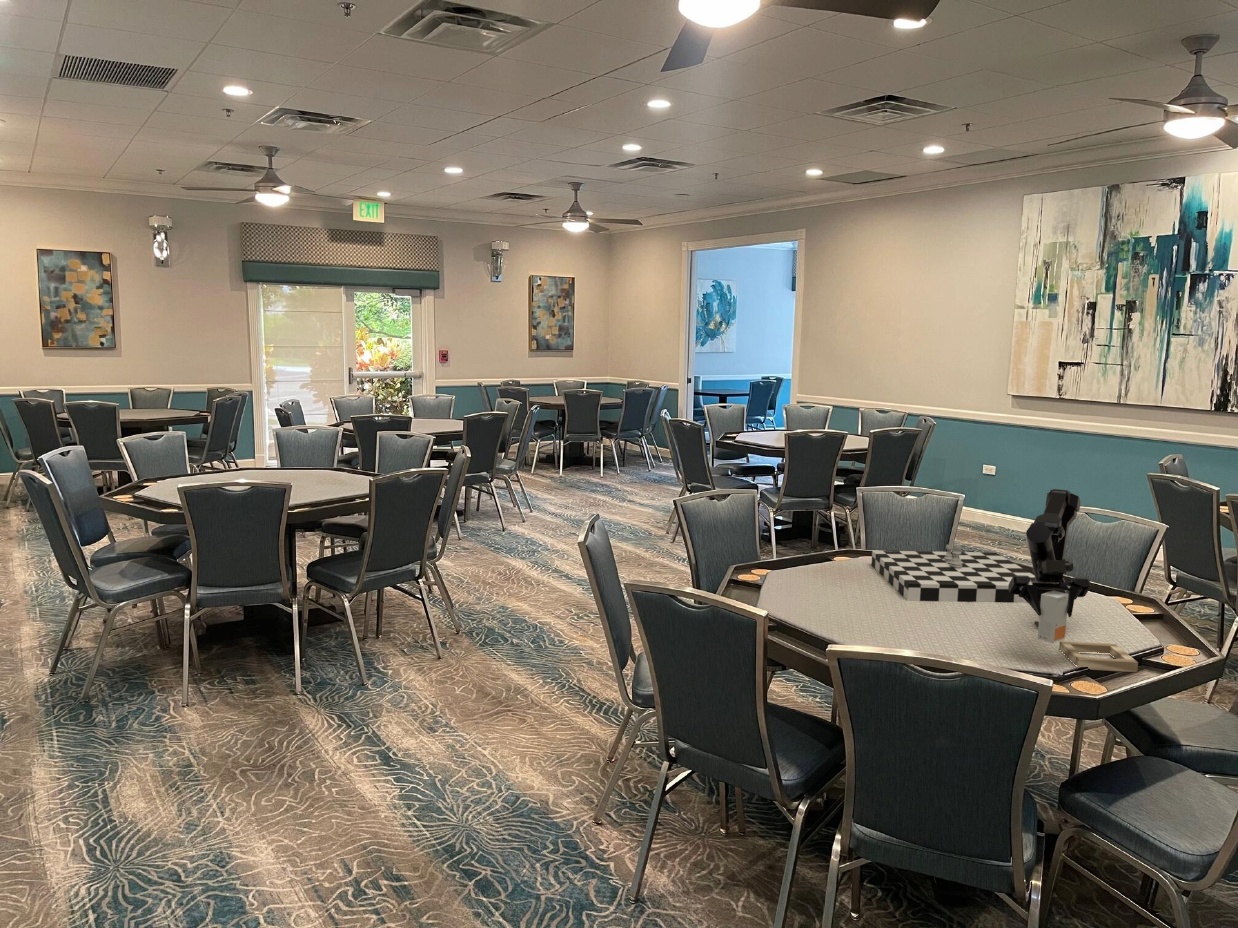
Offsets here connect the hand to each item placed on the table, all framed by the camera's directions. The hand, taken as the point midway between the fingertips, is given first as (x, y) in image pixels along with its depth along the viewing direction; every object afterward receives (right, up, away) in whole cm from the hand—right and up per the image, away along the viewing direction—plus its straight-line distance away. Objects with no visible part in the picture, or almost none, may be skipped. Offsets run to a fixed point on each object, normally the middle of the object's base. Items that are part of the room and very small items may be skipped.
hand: (1055, 615), depth 229 cm
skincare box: (0, -7, +2) cm, 7 cm away
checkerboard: (+4, -3, +79) cm, 80 cm away
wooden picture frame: (+13, -13, +5) cm, 19 cm away
